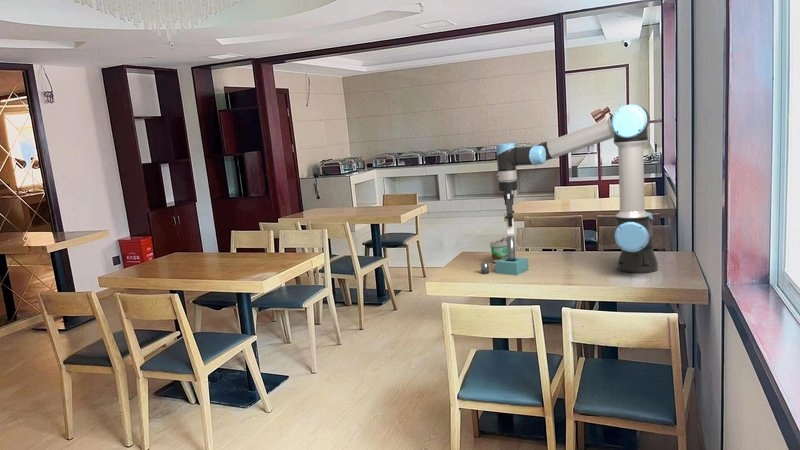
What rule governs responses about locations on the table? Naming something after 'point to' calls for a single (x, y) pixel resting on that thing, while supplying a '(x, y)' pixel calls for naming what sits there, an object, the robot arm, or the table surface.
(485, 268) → the short pin
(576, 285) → the table surface
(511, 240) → the long pin
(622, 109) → the robot arm
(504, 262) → the drilled block
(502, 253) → the food container
